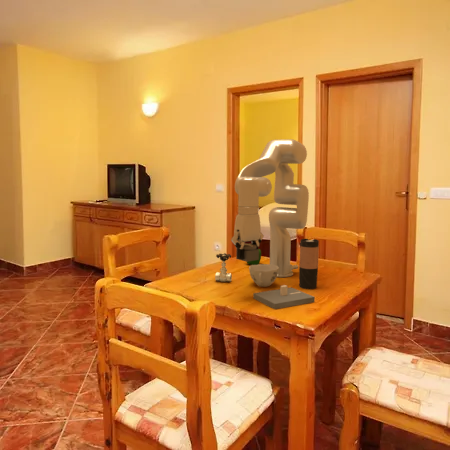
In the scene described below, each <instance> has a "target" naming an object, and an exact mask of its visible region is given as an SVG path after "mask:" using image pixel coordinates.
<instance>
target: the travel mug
mask: <svg viewBox="0 0 450 450" xmlns="http://www.w3.org/2000/svg"><path fill="white" fill-rule="evenodd" d="M299 244H300V247H299V248H300V249H299V263H298V264H299V265H298V269H299V270H298V271H299V273H298V275H299V281H298V282H299V283H298V284H299V285H298V286H299V288H301V289H303V290H315V289H317V287H318V286H317V285H318V275H319V274H318V273H319V249H320V248H319V246H320V245H319V244H320V241H319V240H318V239H316V238H314V239H311V240H310V239H308V238H302V239H300V243H299Z"/></svg>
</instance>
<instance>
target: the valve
mask: <svg viewBox="0 0 450 450" xmlns="http://www.w3.org/2000/svg"><path fill="white" fill-rule="evenodd" d="M215 255H216V256H215V257H216V258H217V259H219V261H222V262H221V268H220V269H219V271H220V272H218V271H217V272H216V273H215V281H216V282H221V283H226V282H228V283H231V282H232V273H231V272H228V268H226V267H227V261H228V260H229V259H231V258H232V255H231V253H226V252H225V253H216V254H215Z"/></svg>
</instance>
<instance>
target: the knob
mask: <svg viewBox="0 0 450 450" xmlns="http://www.w3.org/2000/svg"><path fill="white" fill-rule="evenodd" d="M240 245H241V243H240ZM235 249H236V253H235V254H236V255H235V256H236V260H238V261H243V262H245V263H247V262H249V261H254V260H259V249H260V248H258V249H256V245H255V244H252V243H244V246H243V249H244V259H243V260H241V259H237V248H235Z"/></svg>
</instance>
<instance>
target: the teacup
mask: <svg viewBox="0 0 450 450" xmlns="http://www.w3.org/2000/svg"><path fill="white" fill-rule="evenodd" d="M278 270H279V267H278V266H275V265H271V264H270V263H267V264H265V263H261V264H260V263H259V264H258V265H249V267H248V271H249V275H250V277H251V280H252V281H253V282H254V283H255V284H256V285H257V286H258V287H261V288H262V287H264V288H266V287H270V286H271V285H272V284H273V283H274V282H275V281H276V280H277V278H278V277H277V275H278Z"/></svg>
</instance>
